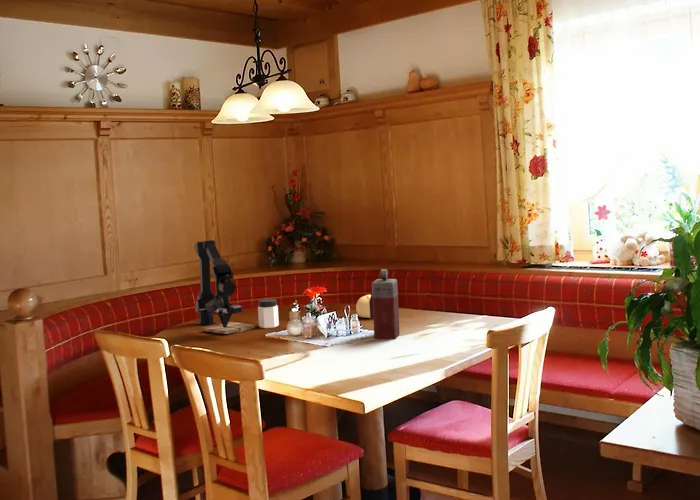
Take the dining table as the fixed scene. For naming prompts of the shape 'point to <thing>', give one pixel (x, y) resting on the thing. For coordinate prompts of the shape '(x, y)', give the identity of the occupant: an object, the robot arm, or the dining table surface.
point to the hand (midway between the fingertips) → (225, 327)
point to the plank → (220, 329)
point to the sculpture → (363, 306)
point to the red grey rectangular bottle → (385, 307)
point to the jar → (268, 313)
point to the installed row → (239, 326)
